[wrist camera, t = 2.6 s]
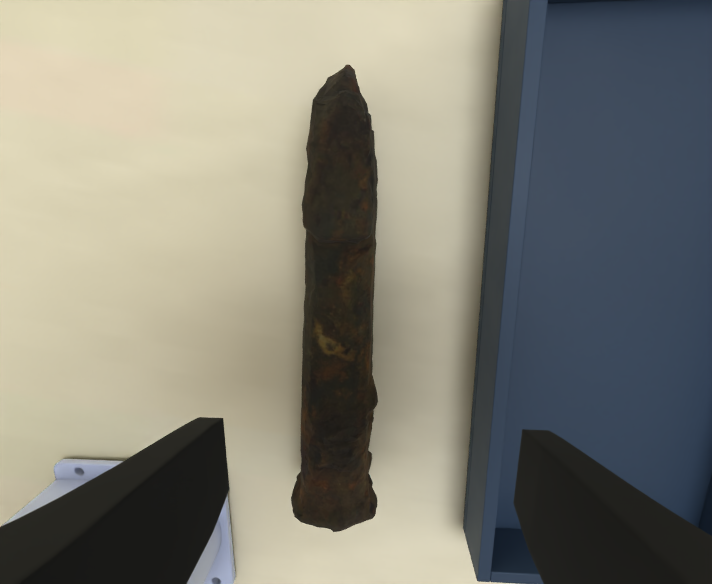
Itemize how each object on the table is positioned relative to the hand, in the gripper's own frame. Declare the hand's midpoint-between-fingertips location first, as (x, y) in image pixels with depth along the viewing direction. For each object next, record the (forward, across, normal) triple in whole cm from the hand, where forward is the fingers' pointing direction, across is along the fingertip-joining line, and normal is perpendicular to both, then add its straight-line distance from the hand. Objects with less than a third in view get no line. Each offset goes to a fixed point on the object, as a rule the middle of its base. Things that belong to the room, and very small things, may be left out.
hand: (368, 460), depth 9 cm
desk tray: (+9, -11, -2) cm, 15 cm away
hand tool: (+10, +2, -1) cm, 10 cm away
